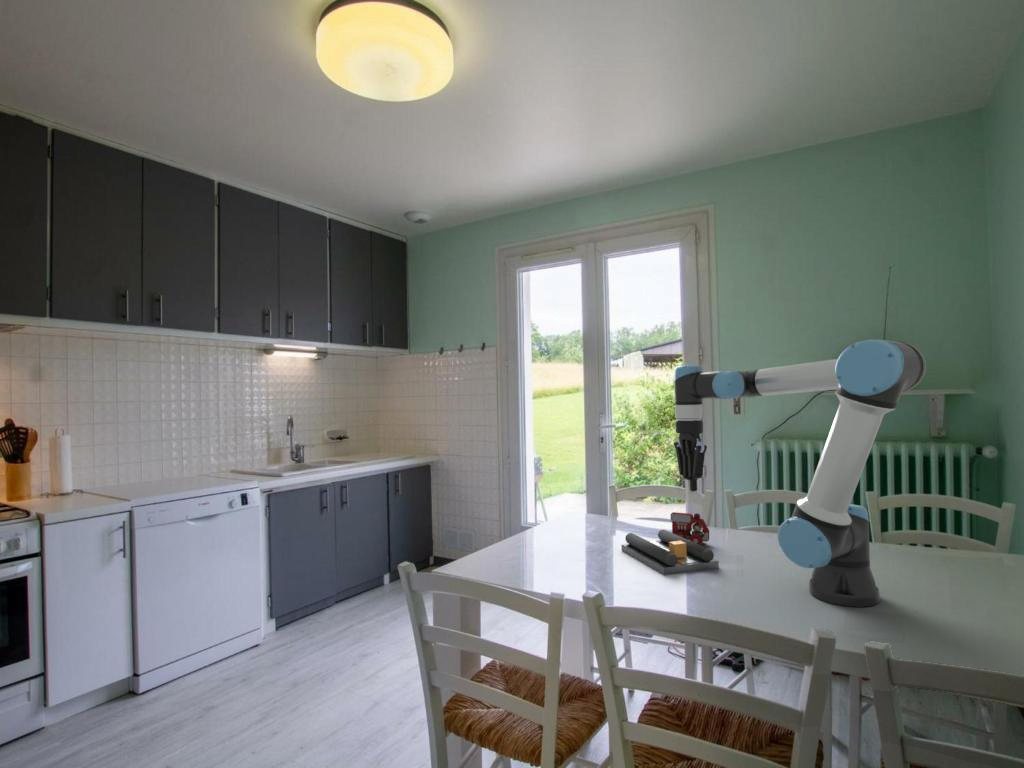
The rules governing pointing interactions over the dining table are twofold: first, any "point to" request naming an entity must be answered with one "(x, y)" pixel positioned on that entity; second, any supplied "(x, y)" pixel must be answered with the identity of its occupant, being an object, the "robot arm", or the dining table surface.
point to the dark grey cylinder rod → (652, 549)
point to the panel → (682, 565)
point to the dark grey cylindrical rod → (687, 545)
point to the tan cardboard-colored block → (678, 548)
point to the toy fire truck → (689, 527)
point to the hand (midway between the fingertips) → (691, 501)
